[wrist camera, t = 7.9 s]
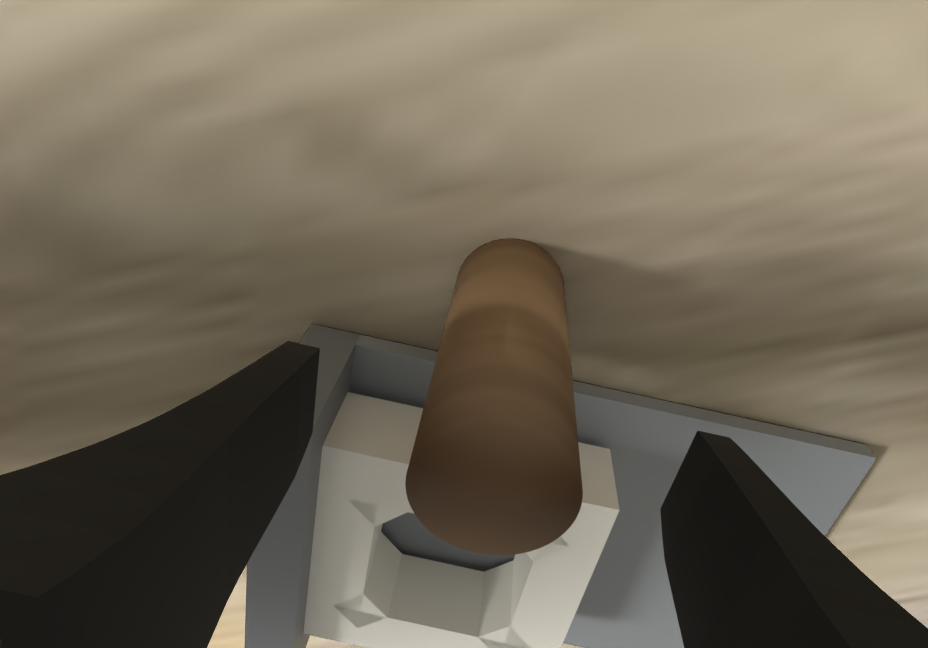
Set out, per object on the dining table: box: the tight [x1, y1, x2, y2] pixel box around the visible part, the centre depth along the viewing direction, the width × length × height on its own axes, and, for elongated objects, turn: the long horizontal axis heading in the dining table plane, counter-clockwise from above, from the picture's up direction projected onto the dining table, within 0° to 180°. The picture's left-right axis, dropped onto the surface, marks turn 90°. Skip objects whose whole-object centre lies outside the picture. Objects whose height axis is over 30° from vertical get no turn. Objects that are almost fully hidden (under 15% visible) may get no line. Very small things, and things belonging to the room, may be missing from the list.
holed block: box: [303, 392, 619, 648], centre depth 20 cm, size 8×8×2 cm
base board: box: [245, 324, 876, 648], centre depth 20 cm, size 11×17×4 cm, turn 79°
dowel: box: [405, 239, 583, 555], centre depth 14 cm, size 3×3×8 cm
